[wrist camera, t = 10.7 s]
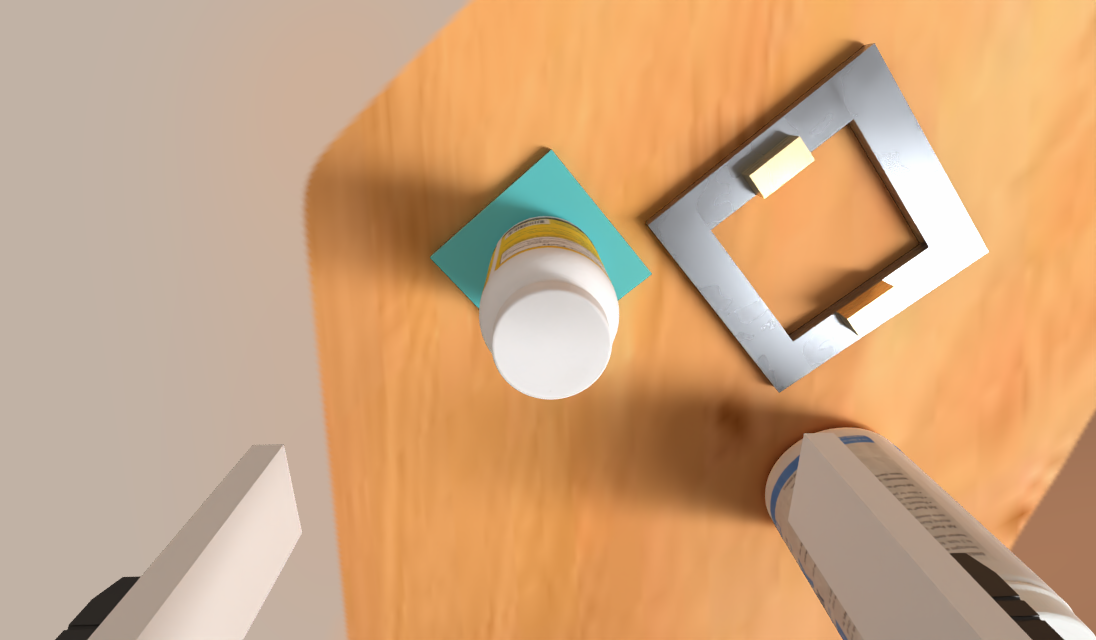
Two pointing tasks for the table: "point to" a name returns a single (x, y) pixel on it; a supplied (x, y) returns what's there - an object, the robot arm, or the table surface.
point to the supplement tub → (932, 512)
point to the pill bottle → (548, 309)
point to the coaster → (533, 196)
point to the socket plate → (773, 159)
